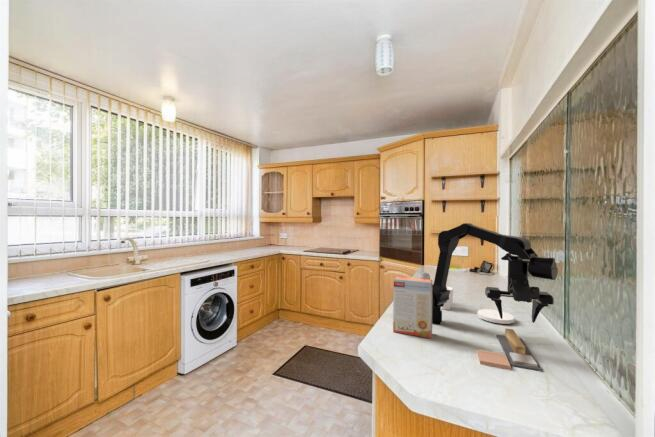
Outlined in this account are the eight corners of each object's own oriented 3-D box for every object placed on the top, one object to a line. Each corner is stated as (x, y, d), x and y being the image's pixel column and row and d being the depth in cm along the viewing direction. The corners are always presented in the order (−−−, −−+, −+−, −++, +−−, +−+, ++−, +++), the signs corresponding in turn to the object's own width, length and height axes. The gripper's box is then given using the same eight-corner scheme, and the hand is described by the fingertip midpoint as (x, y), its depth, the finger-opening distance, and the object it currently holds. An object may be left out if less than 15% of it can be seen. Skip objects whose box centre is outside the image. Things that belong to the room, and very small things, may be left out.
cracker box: (432, 333, 111) (433, 279, 111) (430, 339, 105) (431, 282, 105) (395, 326, 117) (396, 275, 117) (392, 332, 111) (393, 278, 111)
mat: (510, 365, 87) (510, 364, 87) (496, 335, 109) (496, 334, 109) (542, 371, 84) (542, 369, 84) (520, 339, 107) (521, 337, 107)
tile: (477, 354, 95) (480, 365, 88) (477, 349, 95) (480, 360, 88) (505, 359, 92) (510, 371, 85) (505, 354, 92) (510, 366, 85)
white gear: (478, 312, 137) (478, 307, 137) (513, 318, 130) (513, 312, 130) (476, 321, 125) (476, 315, 125) (515, 328, 118) (515, 322, 118)
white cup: (445, 311, 137) (445, 290, 137) (432, 306, 144) (432, 286, 144) (456, 309, 140) (456, 288, 140) (443, 304, 147) (443, 285, 147)
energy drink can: (419, 298, 157) (419, 271, 157) (430, 300, 154) (431, 272, 154) (416, 301, 152) (417, 273, 152) (428, 303, 149) (429, 274, 149)
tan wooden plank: (513, 363, 88) (514, 353, 88) (499, 335, 108) (500, 327, 108) (537, 367, 86) (537, 357, 86) (518, 338, 106) (518, 330, 106)
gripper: (490, 276, 93) (489, 324, 93) (560, 282, 87) (559, 333, 87) (485, 270, 104) (484, 313, 104) (547, 275, 97) (547, 321, 97)
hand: (516, 320), depth 98 cm, fingers open, 9 cm apart
